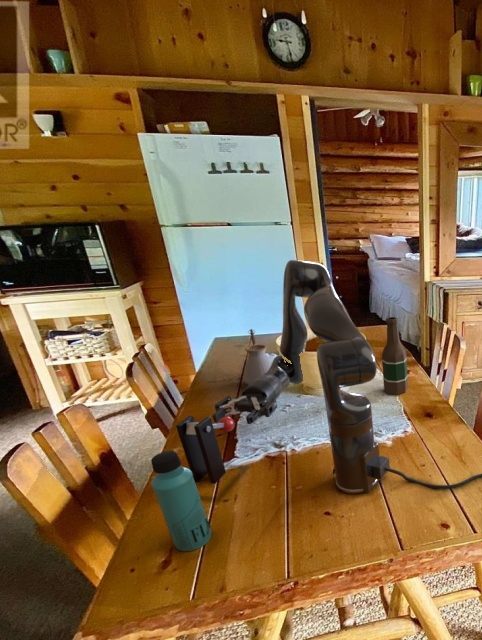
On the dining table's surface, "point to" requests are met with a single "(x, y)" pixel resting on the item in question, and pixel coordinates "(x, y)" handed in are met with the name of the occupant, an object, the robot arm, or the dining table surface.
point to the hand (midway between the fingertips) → (231, 420)
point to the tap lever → (223, 424)
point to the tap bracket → (202, 449)
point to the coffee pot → (256, 361)
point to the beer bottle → (394, 361)
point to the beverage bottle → (180, 502)
